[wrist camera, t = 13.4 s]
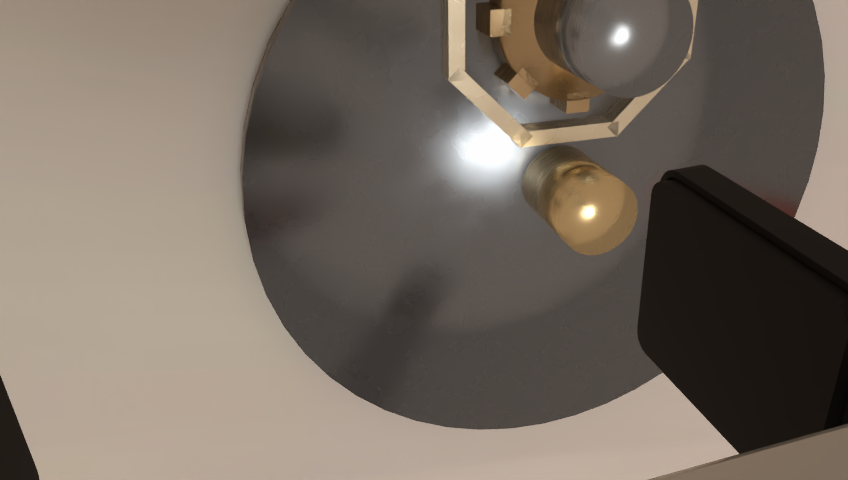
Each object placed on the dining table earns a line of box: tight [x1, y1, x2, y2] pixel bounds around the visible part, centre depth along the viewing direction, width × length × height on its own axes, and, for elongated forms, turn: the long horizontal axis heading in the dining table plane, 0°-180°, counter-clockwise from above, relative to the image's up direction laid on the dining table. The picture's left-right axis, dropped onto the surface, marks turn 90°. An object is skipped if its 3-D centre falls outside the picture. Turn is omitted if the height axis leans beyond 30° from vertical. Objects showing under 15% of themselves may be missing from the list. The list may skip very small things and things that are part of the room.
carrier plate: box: [240, 0, 825, 429], centre depth 40 cm, size 33×33×6 cm
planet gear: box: [476, 0, 693, 114], centre depth 35 cm, size 9×9×7 cm
